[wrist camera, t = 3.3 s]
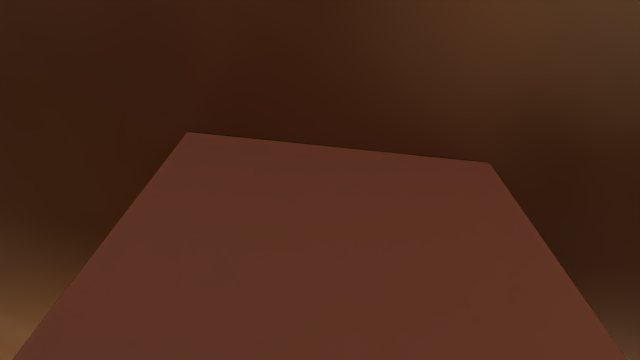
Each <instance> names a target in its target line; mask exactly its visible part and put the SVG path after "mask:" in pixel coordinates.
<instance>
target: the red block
mask: <svg viewBox="0 0 640 360" xmlns="http://www.w3.org/2000/svg"><path fill="white" fill-rule="evenodd" d="M12 360H627V359H626V358H625V356H624V355H623V353H622V352H621V351H620V349H619V348H618V346H617V345H616V343H615V342H614V341H613V339H612V338H611V336H610V335H609V333H608V332H607V331H606V329H605V328H604V326H603V325H602V323H601V322H600V320H599V319H598V318H597V316H596V315H595V313H594V312H593V310H592V309H591V308H590V306H589V305H588V303H587V302H586V300H585V299H584V298H583V296H582V295H581V293H580V292H579V290H578V289H577V288H576V286H575V285H574V283H573V282H572V280H571V279H570V278H569V276H568V275H567V273H566V272H565V270H564V269H563V267H562V266H561V265H560V263H559V262H558V260H557V259H556V257H555V256H554V255H553V253H552V252H551V250H550V249H549V247H548V246H547V245H546V243H545V242H544V240H543V239H542V237H541V236H540V235H539V233H538V232H537V230H536V229H535V227H534V226H533V225H532V223H531V222H530V220H529V219H528V217H527V216H526V214H525V213H524V212H523V210H522V209H521V207H520V206H519V204H518V203H517V202H516V200H515V199H514V197H513V196H512V194H511V193H510V192H509V190H508V189H507V187H506V186H505V184H504V183H503V182H502V180H501V179H500V177H499V176H498V174H497V173H496V172H495V170H494V169H493V167H492V166H491V164H490V163H486V162H476V161H466V160H456V159H447V158H437V157H427V156H417V155H408V154H398V153H388V152H378V151H368V150H359V149H349V148H339V147H329V146H320V145H310V144H300V143H290V142H281V141H271V140H261V139H251V138H242V137H232V136H222V135H212V134H202V133H193V132H187V133H186V134H185V136H184V137H183V138H182V139H181V141H180V142H179V143H178V145H177V146H176V147H175V149H174V150H173V151H172V152H171V154H170V155H169V156H168V158H167V159H166V160H165V162H164V163H163V164H162V165H161V167H160V168H159V169H158V171H157V172H156V173H155V175H154V176H153V177H152V178H151V180H150V181H149V182H148V184H147V185H146V186H145V188H144V189H143V190H142V191H141V193H140V194H139V195H138V197H137V198H136V199H135V201H134V202H133V203H132V204H131V206H130V207H129V208H128V210H127V211H126V212H125V214H124V215H123V216H122V218H121V219H120V220H119V221H118V223H117V224H116V225H115V227H114V228H113V229H112V231H111V232H110V233H109V234H108V236H107V237H106V238H105V240H104V241H103V242H102V244H101V245H100V246H99V247H98V249H97V250H96V251H95V253H94V254H93V255H92V257H91V258H90V259H89V260H88V262H87V263H86V264H85V266H84V267H83V268H82V270H81V271H80V272H79V273H78V275H77V276H76V277H75V279H74V280H73V281H72V283H71V284H70V285H69V286H68V288H67V289H66V290H65V292H64V293H63V294H62V296H61V297H60V298H59V299H58V301H57V302H56V303H55V305H54V306H53V307H52V309H51V310H50V311H49V312H48V314H47V315H46V316H45V318H44V319H43V320H42V322H41V323H40V324H39V325H38V327H37V328H36V329H35V331H34V332H33V333H32V335H31V336H30V337H29V338H28V340H27V341H26V342H25V344H24V345H23V346H22V348H21V349H20V350H19V351H18V353H17V354H16V355H15V357H14V358H13V359H12Z"/></svg>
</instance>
